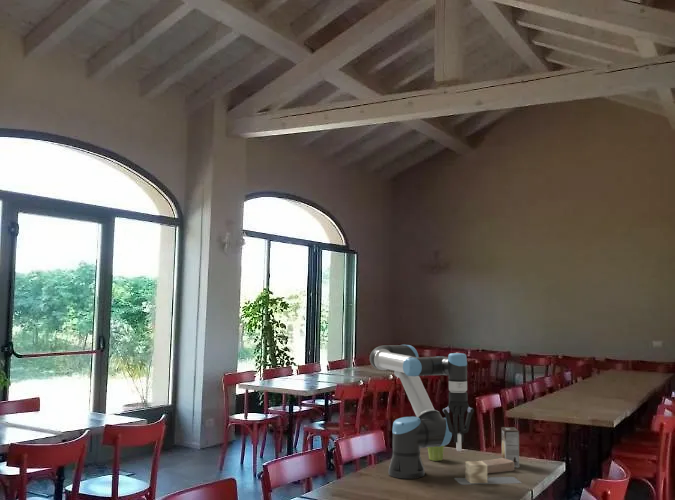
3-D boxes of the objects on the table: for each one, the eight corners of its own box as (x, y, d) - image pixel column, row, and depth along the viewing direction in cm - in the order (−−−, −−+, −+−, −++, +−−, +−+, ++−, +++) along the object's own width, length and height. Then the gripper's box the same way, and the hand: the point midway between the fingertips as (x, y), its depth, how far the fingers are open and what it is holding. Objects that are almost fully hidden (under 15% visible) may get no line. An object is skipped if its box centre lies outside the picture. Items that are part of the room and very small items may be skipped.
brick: (482, 475, 295) (482, 464, 295) (471, 471, 303) (471, 459, 303) (515, 472, 301) (515, 461, 302) (503, 468, 309) (503, 457, 309)
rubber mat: (460, 485, 278) (460, 484, 278) (453, 479, 288) (453, 478, 288) (522, 484, 281) (522, 483, 281) (513, 477, 290) (513, 476, 290)
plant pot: (423, 461, 320) (423, 441, 320) (427, 456, 329) (427, 438, 329) (444, 462, 317) (444, 443, 317) (447, 458, 326) (447, 439, 326)
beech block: (470, 483, 280) (470, 465, 280) (465, 478, 287) (465, 461, 287) (487, 482, 281) (487, 465, 281) (482, 478, 288) (481, 461, 288)
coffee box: (501, 462, 318) (500, 426, 319) (515, 462, 317) (514, 426, 319) (505, 467, 308) (505, 430, 310) (520, 467, 308) (519, 430, 309)
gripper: (444, 392, 281) (445, 452, 279) (476, 392, 282) (477, 452, 280) (440, 390, 288) (440, 448, 286) (471, 390, 290) (471, 448, 288)
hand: (458, 450), depth 283 cm, fingers closed
